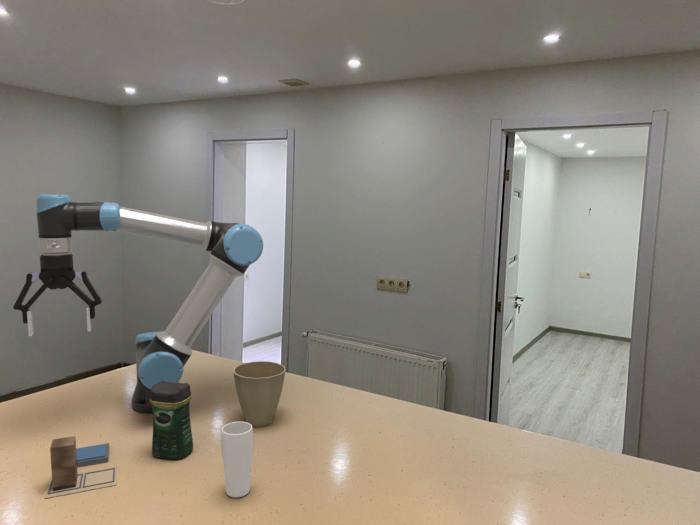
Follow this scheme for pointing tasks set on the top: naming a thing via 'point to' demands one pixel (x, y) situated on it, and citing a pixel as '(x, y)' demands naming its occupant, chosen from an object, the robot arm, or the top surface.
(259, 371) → the plant pot
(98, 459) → the ink pad
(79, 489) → the sheet
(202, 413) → the top surface
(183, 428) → the coffee jar
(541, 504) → the top surface
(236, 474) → the drinking glass
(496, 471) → the top surface
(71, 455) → the tall wooden block
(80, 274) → the robot arm
